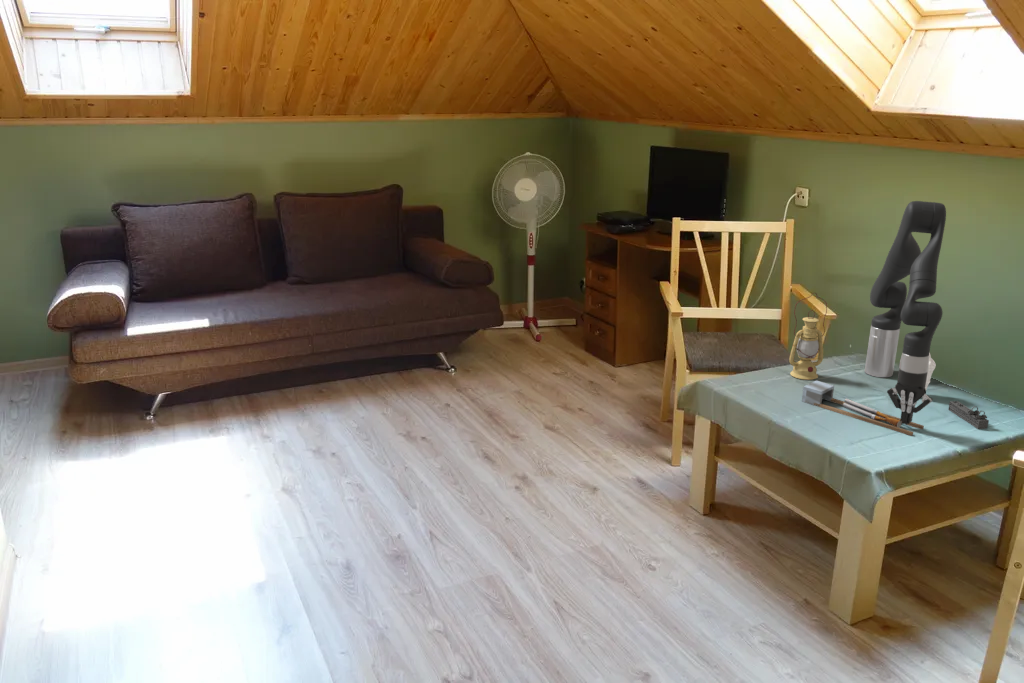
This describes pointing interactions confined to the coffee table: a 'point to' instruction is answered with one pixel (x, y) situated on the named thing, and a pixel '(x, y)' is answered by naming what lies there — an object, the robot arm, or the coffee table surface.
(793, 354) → the lantern
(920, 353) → the robot arm
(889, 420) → the chisel
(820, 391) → the holder
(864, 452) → the coffee table surface
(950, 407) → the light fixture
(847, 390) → the coffee table surface
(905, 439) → the coffee table surface
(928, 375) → the soft serve ice cream cone
